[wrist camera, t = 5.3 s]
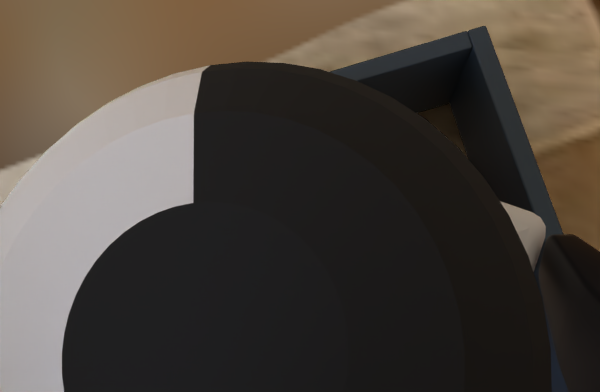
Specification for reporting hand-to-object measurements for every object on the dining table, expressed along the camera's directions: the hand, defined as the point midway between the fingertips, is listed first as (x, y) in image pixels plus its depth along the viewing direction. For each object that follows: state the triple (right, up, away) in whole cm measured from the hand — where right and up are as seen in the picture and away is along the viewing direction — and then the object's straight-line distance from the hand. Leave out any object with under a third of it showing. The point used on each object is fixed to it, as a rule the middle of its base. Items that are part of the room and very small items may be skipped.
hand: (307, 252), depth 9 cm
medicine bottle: (+1, -3, +7) cm, 7 cm away
